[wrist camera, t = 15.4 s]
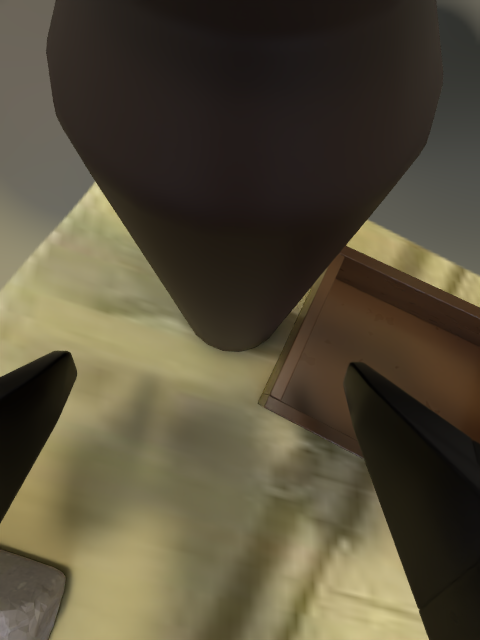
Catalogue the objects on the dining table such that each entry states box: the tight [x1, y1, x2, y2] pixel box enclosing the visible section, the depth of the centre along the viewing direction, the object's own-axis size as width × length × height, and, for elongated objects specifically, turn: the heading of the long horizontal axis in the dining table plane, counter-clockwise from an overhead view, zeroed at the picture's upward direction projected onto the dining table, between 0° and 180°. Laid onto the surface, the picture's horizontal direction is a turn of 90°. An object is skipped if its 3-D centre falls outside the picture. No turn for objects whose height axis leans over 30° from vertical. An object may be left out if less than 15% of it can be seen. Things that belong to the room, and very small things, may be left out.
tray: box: [258, 246, 480, 459], centre depth 17 cm, size 11×15×3 cm
